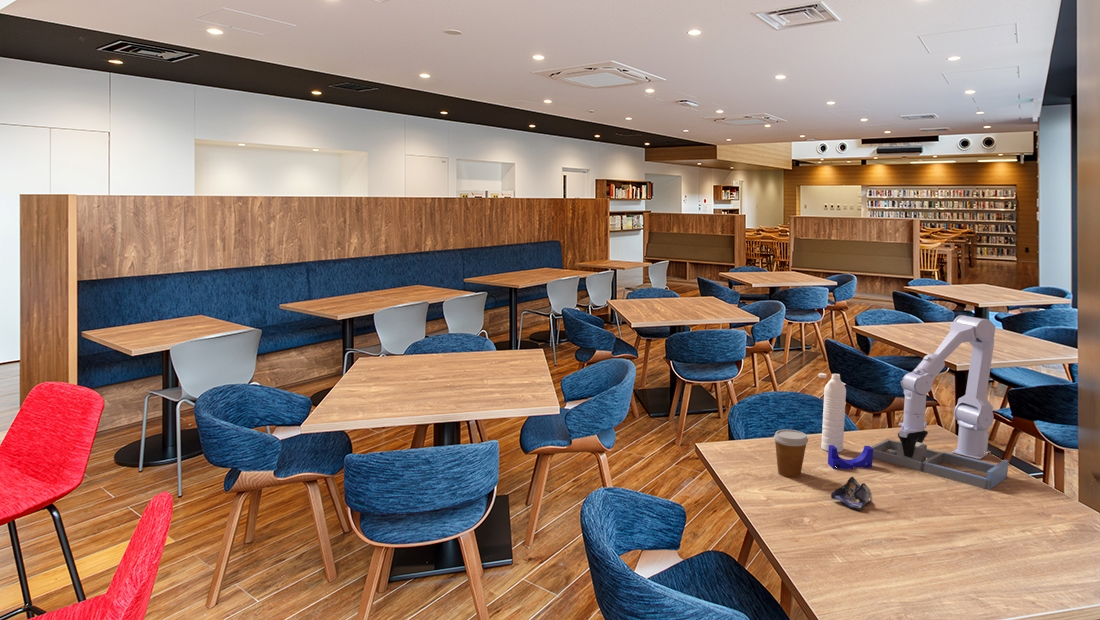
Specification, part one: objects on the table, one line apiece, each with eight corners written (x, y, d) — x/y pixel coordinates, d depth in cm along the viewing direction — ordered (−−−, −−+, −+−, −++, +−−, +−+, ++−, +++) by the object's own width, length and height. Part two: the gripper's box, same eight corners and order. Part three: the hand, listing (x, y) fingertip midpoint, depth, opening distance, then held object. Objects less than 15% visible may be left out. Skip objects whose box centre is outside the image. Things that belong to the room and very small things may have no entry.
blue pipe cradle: (832, 469, 201) (833, 450, 200) (827, 463, 206) (828, 445, 205) (874, 470, 200) (875, 450, 199) (868, 464, 205) (869, 445, 204)
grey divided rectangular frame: (887, 446, 220) (888, 431, 219) (1007, 477, 194) (1008, 460, 193) (866, 456, 211) (867, 441, 210) (989, 489, 185) (990, 472, 184)
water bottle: (838, 445, 221) (842, 371, 217) (846, 452, 214) (850, 376, 211) (811, 445, 221) (814, 371, 217) (818, 452, 215) (822, 376, 211)
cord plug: (890, 451, 214) (891, 435, 213) (925, 460, 206) (927, 444, 205) (884, 454, 212) (885, 438, 211) (920, 463, 203) (921, 447, 203)
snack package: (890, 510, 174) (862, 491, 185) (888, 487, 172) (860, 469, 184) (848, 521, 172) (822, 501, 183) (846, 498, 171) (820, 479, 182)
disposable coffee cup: (767, 468, 202) (768, 429, 200) (797, 466, 203) (799, 428, 201) (780, 480, 193) (782, 440, 191) (812, 479, 193) (814, 439, 192)
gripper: (911, 404, 213) (908, 446, 215) (890, 413, 204) (887, 456, 206) (934, 409, 207) (931, 451, 209) (914, 419, 198) (911, 463, 200)
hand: (911, 454), depth 207 cm, fingers closed on cord plug, 4 cm apart
